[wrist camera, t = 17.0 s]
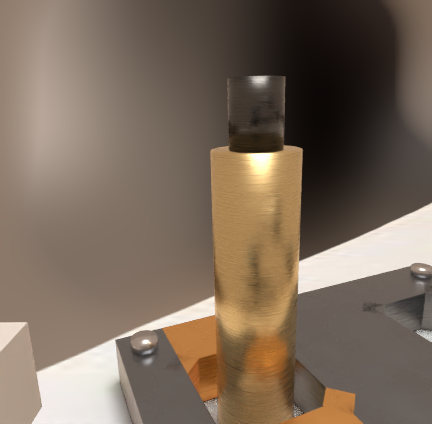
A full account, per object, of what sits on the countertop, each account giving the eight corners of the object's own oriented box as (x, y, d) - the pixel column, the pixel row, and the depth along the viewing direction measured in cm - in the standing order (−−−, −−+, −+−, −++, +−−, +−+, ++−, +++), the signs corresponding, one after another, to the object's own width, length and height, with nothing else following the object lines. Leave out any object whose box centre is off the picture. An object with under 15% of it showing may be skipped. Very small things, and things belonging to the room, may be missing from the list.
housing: (620, 397, 23) (636, 343, 22) (197, 640, 13) (192, 560, 12) (415, 295, 35) (419, 257, 34) (119, 380, 26) (114, 331, 25)
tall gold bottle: (308, 442, 21) (325, 74, 16) (239, 472, 19) (234, 74, 14) (268, 393, 24) (272, 80, 19) (207, 414, 23) (194, 80, 18)
